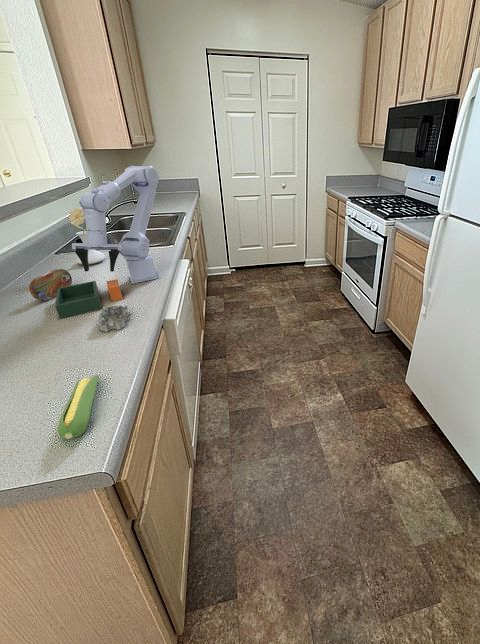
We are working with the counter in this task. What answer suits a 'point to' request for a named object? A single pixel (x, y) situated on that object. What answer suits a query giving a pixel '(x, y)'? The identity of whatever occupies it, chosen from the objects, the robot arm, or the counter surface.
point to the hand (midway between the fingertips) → (99, 271)
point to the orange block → (114, 290)
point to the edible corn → (78, 409)
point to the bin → (77, 299)
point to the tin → (49, 284)
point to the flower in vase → (84, 235)
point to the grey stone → (112, 318)
